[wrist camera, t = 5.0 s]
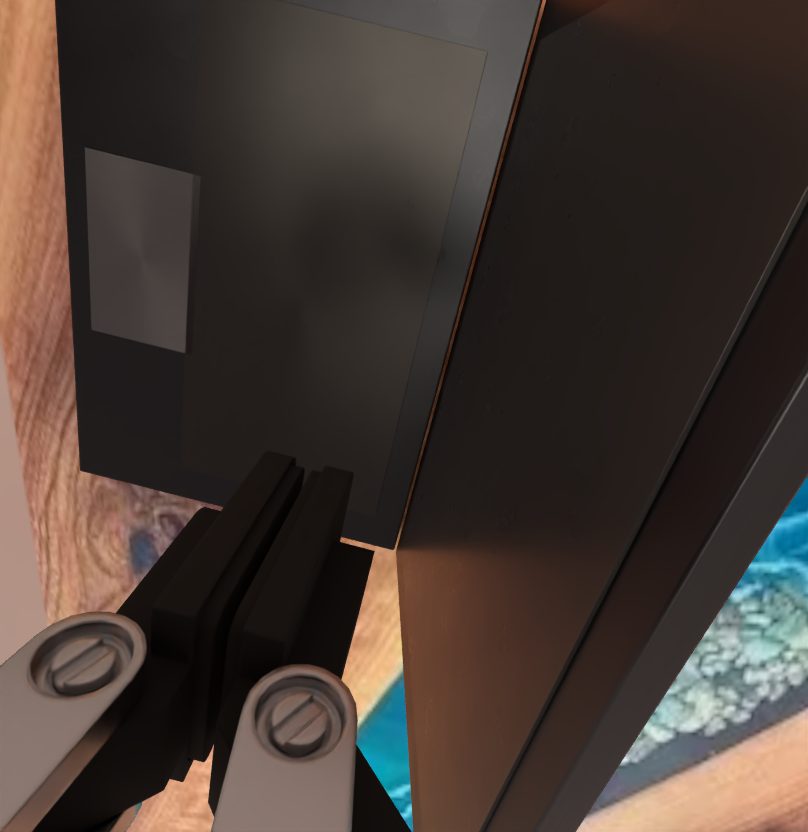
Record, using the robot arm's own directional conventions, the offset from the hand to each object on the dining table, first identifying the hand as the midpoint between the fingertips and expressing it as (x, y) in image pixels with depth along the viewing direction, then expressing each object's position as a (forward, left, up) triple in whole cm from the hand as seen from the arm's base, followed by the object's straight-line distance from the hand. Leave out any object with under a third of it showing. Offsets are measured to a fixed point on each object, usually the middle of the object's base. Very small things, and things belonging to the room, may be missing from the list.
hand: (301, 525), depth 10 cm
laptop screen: (+4, 0, -6) cm, 7 cm away
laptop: (-6, 0, -16) cm, 17 cm away
